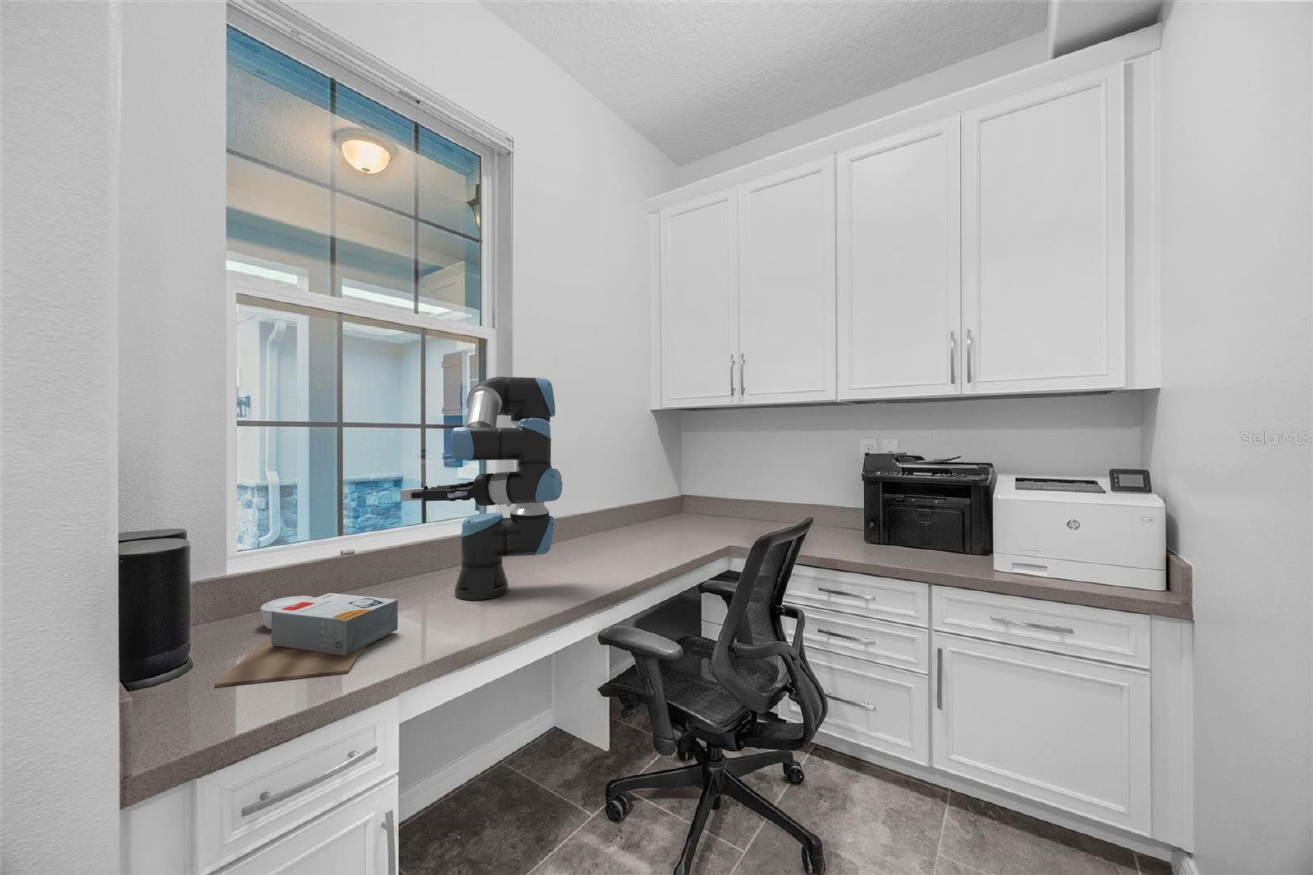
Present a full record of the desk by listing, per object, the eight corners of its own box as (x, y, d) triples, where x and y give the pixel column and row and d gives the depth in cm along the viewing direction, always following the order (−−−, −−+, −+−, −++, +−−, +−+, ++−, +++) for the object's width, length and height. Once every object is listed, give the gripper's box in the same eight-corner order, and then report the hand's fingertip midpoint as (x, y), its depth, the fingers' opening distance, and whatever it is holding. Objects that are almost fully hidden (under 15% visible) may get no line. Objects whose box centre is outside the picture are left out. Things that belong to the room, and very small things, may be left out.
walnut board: (377, 629, 125) (377, 626, 125) (348, 673, 102) (348, 670, 102) (271, 638, 119) (271, 635, 119) (214, 687, 96) (214, 684, 96)
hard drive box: (346, 620, 108) (269, 612, 113) (346, 656, 108) (269, 647, 113) (399, 598, 123) (329, 592, 128) (398, 630, 123) (329, 623, 128)
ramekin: (270, 635, 121) (270, 613, 121) (253, 625, 127) (253, 604, 127) (323, 622, 130) (323, 601, 130) (304, 612, 136) (304, 592, 136)
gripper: (484, 510, 115) (386, 516, 118) (508, 499, 128) (419, 505, 131) (480, 476, 114) (382, 483, 117) (505, 469, 127) (416, 476, 130)
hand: (402, 495), depth 124 cm, fingers closed
